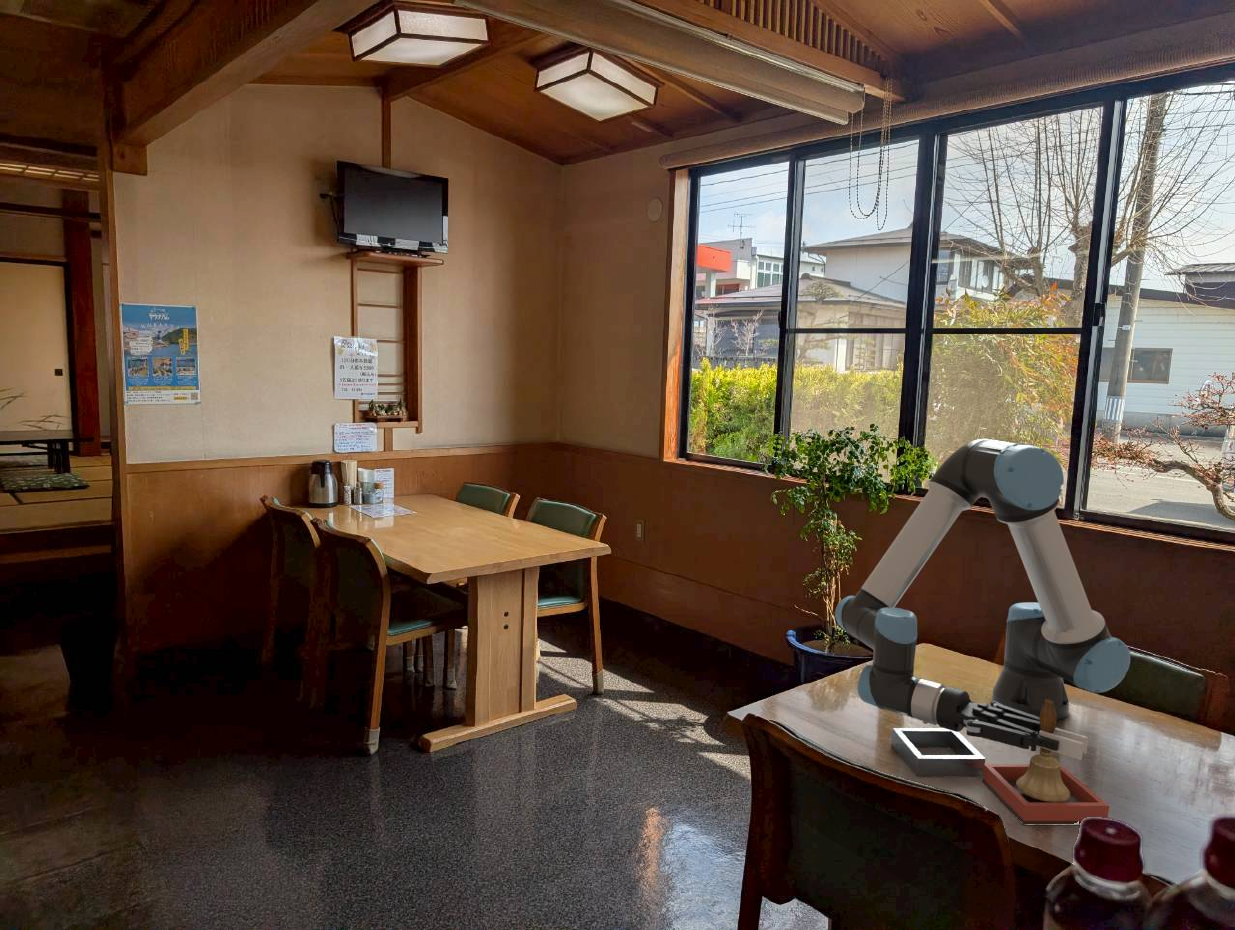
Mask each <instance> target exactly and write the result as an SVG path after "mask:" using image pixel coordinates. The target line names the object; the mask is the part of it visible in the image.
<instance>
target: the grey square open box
mask: <svg viewBox="0 0 1235 930" xmlns="http://www.w3.org/2000/svg"><path fill="white" fill-rule="evenodd" d="M891 746H892V748H893V749H894V750H895V752H896V753H897V754H898V755H899V757H900V758H901V759H902V760H903V762H905V765H907V767H908V768H909V769H910V770H911V772H913V774H914V775H915V776H916V777H917V778H922V777H923V778H925V777H927V778H929V777H930V778H937V777H938V778H940V777H941V778H942V777H943V778H946V777H947V778H948V777H949V778H951V777H952V778H959V777H960V778H965V777H966V778H968V777H969V778H970V777H971V778H976V777H977V778H978V777H979V778H983V767H984V764H986V758H985V757H984V756H983V754H981V753H980V751H978V750H977V748H975V747H974V745H972V744H971V743H970V742H969V741H968V740H967V739H966V738H965V737H964V736H963V735H962V734H961V732H955V731H952V730H948V729H945V728H942V727H939V728H938V727H937V728H933V727H928V728H927V727H925V728H924V727H918V728H917V727H910V728H909V727H892V730H891ZM918 749H951V751H952V752H953V753H954V754H953V755H951V754H950V755H949V754H946V755H945V754H944V755H943V754H941V755H939V754H938V755H937V754H936V755H934V754H933V755H931V754H929V755H928V754H927V755H923V754H922V753H921V752H920V751H919V750H918Z"/></svg>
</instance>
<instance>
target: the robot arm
mask: <svg viewBox="0 0 1235 930" xmlns="http://www.w3.org/2000/svg"><path fill="white" fill-rule="evenodd" d="M1064 479H1065V478H1064V472H1063V469H1062V466H1061V464H1060V461H1058V459H1057V457H1055V455H1053V454H1052V453H1051V452H1049V451H1048V450H1046V449H1044V448H1043V447H1037V446H1035V445H1033V444H1029V443H1021V442H1018V443H1014V442H1008V441H1001V440H997V439H992V438H979V439H973V440H971V441H969V442H967V443H965V444H963V445H962V446H960V447H959V448H958V449H956V450H954V452H953V453H951V455H949V456H948V457H947V459H945V460H944V461H943V462H942V464H941V465H940V466H939V467H938V469H936V470H935V473H934V474H933V475H932V477H931V478H930V479H929V481H928V482H927V486H928V491H927V493H926V494H925V496H924V497H923V498H922V500H921V501H920V503H919V504H918V506H917V507H916V508H915V510H914V511H913V513H912V514H911V516H910V517H909V518H908V520H907V521H906V523H904V525H903V527H902V529H901V530H900V531H899V533H898V534H897V536H896V537H895V539H894V540H893V542H892V543H891V544H890V545H889V547H888V549H887V550H886V552H885V553H884V555H883V556H882V557H881V559H880V560H879V562H878V563H877V564H876V566H875V568H874V569H873V571H871V573H870V574H869V576H868V577H867V579H866V580H865V582H864V583H863V585H862V586H861V587H860V589H859V590H858V592H857V593H856V594H855V595H848V596H845V597H844V598H843V599H841V600H840V601H839V602H838V604H837V605H836V608H835V612H834V616H835V620H836V622H837V624H838V625H839V627H840V628H841V629H843V630H844V631H845V632H846V634H847V635H849V636H851V637H854V638H855V639H856V640H859V641H860V642H861V643H863V644H864V645H866V646H868V647H869V648H870V649H872V650H873V656H872V664H867V665H865V666H864V667H863V668H862V670H861V672H860V673H859V679H858V681H857V693H858V696H859V699H860V700H861V701H862V702H864V703H866V704H869V705H870V706H874V707H877V708H878V709H880V710H886V711H889V712H891V713H894V714H898V715H902V716H906V717H910V718H911V719H915V720H919V721H921V722H922V724H925V725H926V724H930V725H933V726H934V725H935V726H936V725H938V726H939V728H945V729H948V730H952V731H955V732H959V733H961V731H962V730H963V729H964V728H966V735H967V736H969V737H975V738H982V739H985V740H988V741H989V740H990V741H993V742H997V743H1001V744H1005V745H1009V746H1012V747H1016V748H1019V749H1024V750H1029V749H1030V751H1031V752H1037V747H1038V748H1039V749H1040V748H1044V749H1047V750H1050V751H1051V752H1054V753H1057V754H1061V755H1064V756H1067V757H1069V758H1073V759H1077V760H1080V761H1081V760H1082V759H1083V754H1084V755H1086V754H1087V750H1088V742H1089V737H1088V736H1087V735H1083V734H1078V733H1076V732H1073V731H1069V730H1065V729H1061V728H1059V727H1055V731H1054V733H1053V734H1052V733H1049V732H1045V731H1042V730H1041V729H1040V712H1041V709H1042V707H1043V705H1044V703H1045V700H1052V701H1053V702H1054V707H1055V710H1056V715H1057V720H1062V719H1064V718H1067V717H1068V715H1069V708H1070V701H1069V697H1068V695H1067V690H1066V686H1065V683H1064V680H1066V681H1068V682H1069V683H1071V684H1073V685H1075V686H1076V687H1078V688H1080V689H1084V690H1086V691H1089V692H1091V693H1097V694H1098V693H1099V694H1101V693H1105V692H1108V691H1110V690H1111V689H1113V688H1115V687H1116V686H1117V685H1119V684H1120V683H1121V682H1122V681H1123V680H1124V678H1125V676H1126V674H1127V672H1128V671H1129V668H1130V664H1131V651H1130V649H1129V647H1128V645H1126V643H1125V642H1124V641H1122V640H1121V639H1120V638H1117V637H1115V636H1114V637H1113V636H1112V635H1111V633H1110V631H1109V627H1108V624H1107V623H1106V620H1105V618H1104V616H1103V615H1102V614H1101V613H1100V612H1098V611H1095V610H1094V609H1092V607H1091V605H1090V602H1089V599H1088V597H1087V594H1086V591H1085V588H1084V586H1083V583H1082V580H1081V578H1080V575H1079V572H1078V570H1077V567H1076V565H1075V561H1074V560H1073V556H1072V554H1071V551H1070V548H1069V547H1068V544H1067V541H1066V539H1065V536H1064V533H1063V531H1062V528H1061V524H1060V522H1059V520H1058V517H1057V515H1056V509H1057V508H1058V506H1059V504H1060V496H1061V494H1062V492H1063V489H1062V485H1064V484H1065V483H1064V482H1065V481H1064ZM980 498H985V499H987V500H988V501H989V503H990V505H991V509H992V511H993V514H994V516H995V518H996V520H997V521H998V522H1000V523H1004V524H1007V526H1008V528H1009V531H1010V534H1011V537H1012V538H1013V540H1014V544H1015V546H1016V549H1017V552H1018V554H1019V557H1020V559H1021V561H1022V563H1023V567H1024V569H1025V572H1026V574H1027V577H1028V580H1029V581H1030V584H1031V587H1032V590H1033V592H1034V594H1035V597H1036V599H1037V602H1034V601H1033V602H1032V601H1031V602H1029V601H1028V602H1018V603H1017V602H1016V603H1014V604H1012V605H1011V606H1009V609H1008V615H1007V619H1006V629H1005V632H1006V633H1005V645H1004V660H1003V666H1002V670H1001V672H1000V674H999V676H998V677H997V679H996V683H995V685H994V687H993V688H992V694H991V695H992V696H991V701H990V704H989V705H988V703H983V702H973V701H972V700H971V697H970V694H969V693H968V692H967V691H966V690H963V689H960V688H956V687H951V686H947V687H946V686H945V685H944V684H942V683H939V682H935V681H932V680H928V679H923V678H920V677H917V676H915V674H914V672H915V671H914V669H915V659H916V650H917V649H916V648H917V639H918V618H917V616H916V615H915V613H914V612H912V611H910V610H909V609H903V608H901V607H900V608H899V607H896V605H897V604H898V603H899V601H900V600H901V599H902V597H903V596H904V594H905V593H906V591H907V590H908V589H909V587H910V586H911V584H912V583H913V582H914V580H915V578H916V577H917V576H918V575H919V573H920V571H921V570H922V569H923V567H924V566H925V564H926V563H927V562H928V560H929V559H930V557H931V556H932V555H933V553H934V552H935V551H936V549H937V547H938V545H940V543H941V541H942V540H943V539H944V538H945V536H946V535H947V533H948V532H949V530H950V528H952V525H953V524H954V523H955V522H956V520H957V518H958V517H959V516H960V515H961V513H962V512H963V511H969V510H971V508H972V507H973V505H974V503H975V502H976V501H977V500H979V499H980Z"/></svg>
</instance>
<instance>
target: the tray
mask: <svg viewBox="0 0 1235 930" xmlns="http://www.w3.org/2000/svg"><path fill="white" fill-rule="evenodd" d="M1029 764H1030V763H985V764H984V767H983V777H981V778H982V780H981V781H982V783H983V785H984V786H986V788H988V790H989V791H991V792H992V794H993V795H994V796H995V797H996V798H997V799H998V800H999V801H1000V802H1001V803H1002V804H1003V805H1004V807H1006V809H1008V811H1010V813H1011V814H1012V815H1013V816H1014V815H1015V816H1014V817H1015V818H1016V817H1017V818H1018V819H1017V818H1016V819H1017V820H1018V821H1019V820H1020V821H1021V822H1022V823H1023V824H1074V823H1077V822H1078V821H1079V824H1080V823H1081V821H1082V820H1083V819H1084V818H1087V817H1102V818H1108V819H1109V812H1110V811H1109V810H1110V805H1109V804H1108V803H1107V802H1105V801H1104V800H1103V799H1102V798H1101V797H1100V796H1098V795H1097V794H1096V793H1095V792H1094V791H1092V789H1090V788H1089V787H1088V786H1087V785H1085V784H1084V783H1083V782H1082V781H1081V780H1079V779H1078V778H1077V777H1076V776H1074V775H1073V774H1072V773H1071V772H1070V771H1069V770H1067V768H1065V767H1064V766H1062V765H1061V764H1060V774H1061V779H1062V782H1063V784H1064V785H1065V786H1066V787H1067V789H1068V790H1069V792H1070V798H1069V800H1067V801H1064V802H1046V801H1042V800H1038V799H1035V798H1032V797H1030V796H1028V795H1026V794H1024V793H1023V792H1021V791H1020V790H1019V789H1018V788H1017V786H1016V782H1017V780H1018V779H1019V778H1020V777H1022V776H1024V775H1025V773H1026V772H1027V770H1028V768H1029ZM1020 821H1019V822H1020ZM1021 822H1020V823H1021ZM1022 823H1021V824H1022ZM1023 824H1022V825H1023Z"/></svg>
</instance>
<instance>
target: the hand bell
mask: <svg viewBox="0 0 1235 930" xmlns="http://www.w3.org/2000/svg"><path fill="white" fill-rule="evenodd" d="M1055 728H1057V715H1056V710H1055V707H1054V702H1053V701H1052V700H1045V703H1044V705H1043V707H1042V709H1041V712H1040V729H1041V730H1042V731H1045V732H1049V733H1052V734H1053V733H1054V731H1055ZM1039 749H1040V752H1039V754H1034V755H1032V756H1031V757H1030V761H1029V763H1028V764H1029V768H1028V770H1027V772H1026V773H1025V775H1024V776H1022V777H1020V778H1019V779H1018V780H1017V782H1016V786H1017V788H1018V789H1019V790H1020V791H1021V792H1023V793H1024V794H1026V795H1028V796H1030V797H1032V798H1035V799H1038V800H1042V801H1046V802H1064V801H1067V800H1069V798H1070V792H1069V790H1068V789H1067V787H1066V786H1065V785H1064V784H1063V782H1062V779H1061V774H1060V765H1061V764H1060V762H1059V760H1057V759H1056V758H1054V757H1052V752H1053V751H1050V750H1047V749H1044V748H1040V747H1039Z"/></svg>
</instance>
